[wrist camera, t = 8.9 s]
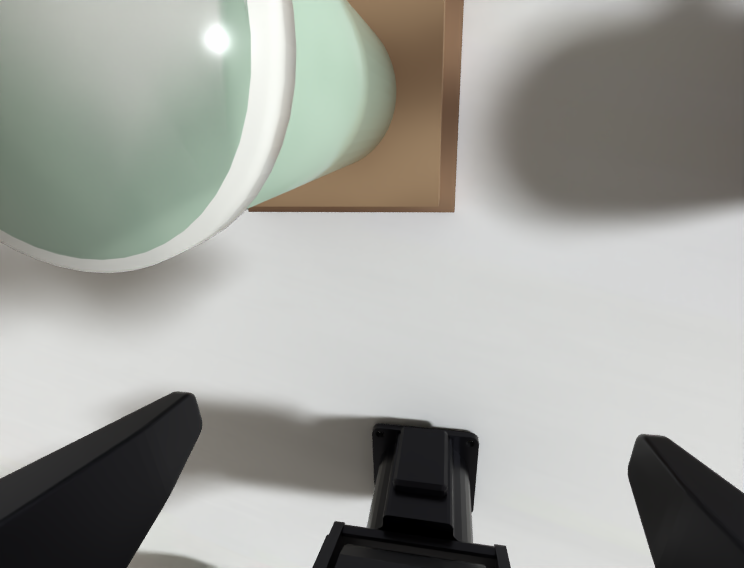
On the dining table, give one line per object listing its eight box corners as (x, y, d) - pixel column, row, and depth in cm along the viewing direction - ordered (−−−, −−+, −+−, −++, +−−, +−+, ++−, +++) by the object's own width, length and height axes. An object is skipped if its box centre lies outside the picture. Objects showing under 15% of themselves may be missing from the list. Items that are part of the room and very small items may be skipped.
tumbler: (373, 193, 17) (224, 332, 6) (242, 145, 17) (-144, 189, 6) (424, 33, 14) (334, -273, 3) (269, -21, 14) (-313, -476, 3)
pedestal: (454, 208, 19) (454, 223, 16) (255, 208, 21) (226, 221, 18) (465, -59, 15) (469, -99, 12) (220, -31, 17) (177, -59, 14)
